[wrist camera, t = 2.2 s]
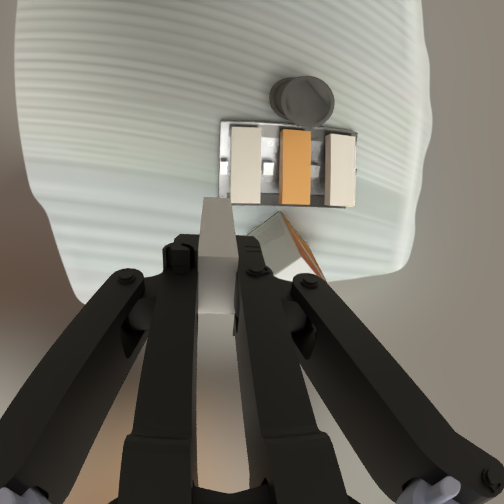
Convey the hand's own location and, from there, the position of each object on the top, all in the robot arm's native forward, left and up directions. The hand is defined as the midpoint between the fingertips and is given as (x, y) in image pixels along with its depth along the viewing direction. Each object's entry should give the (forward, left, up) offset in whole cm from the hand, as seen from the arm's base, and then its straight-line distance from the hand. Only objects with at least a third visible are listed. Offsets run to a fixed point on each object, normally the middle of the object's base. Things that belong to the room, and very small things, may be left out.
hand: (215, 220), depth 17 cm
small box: (+14, +9, -24) cm, 30 cm away
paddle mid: (+2, +9, -21) cm, 23 cm away
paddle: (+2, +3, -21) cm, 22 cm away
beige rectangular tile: (+2, +15, -21) cm, 26 cm away
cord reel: (-7, +9, -24) cm, 27 cm away
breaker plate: (+2, +9, -24) cm, 26 cm away
